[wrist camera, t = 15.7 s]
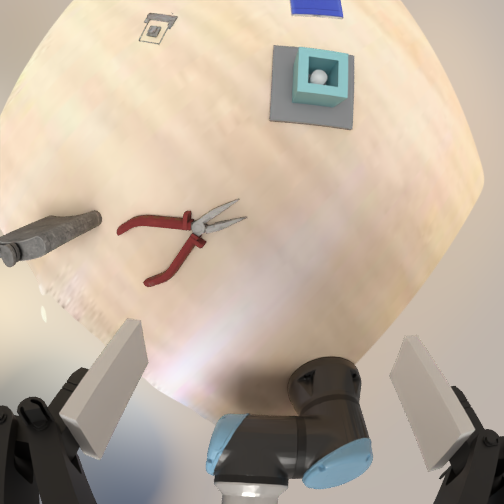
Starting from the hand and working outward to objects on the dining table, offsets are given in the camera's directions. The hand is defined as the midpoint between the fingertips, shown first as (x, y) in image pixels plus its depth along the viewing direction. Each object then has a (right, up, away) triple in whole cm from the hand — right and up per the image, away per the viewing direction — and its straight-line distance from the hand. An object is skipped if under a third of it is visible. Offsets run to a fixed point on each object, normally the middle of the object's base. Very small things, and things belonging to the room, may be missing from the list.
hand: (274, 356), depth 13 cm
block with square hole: (+8, +29, +23) cm, 37 cm away
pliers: (-12, +6, +34) cm, 37 cm away
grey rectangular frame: (-18, +45, +21) cm, 53 cm away
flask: (-34, +10, +33) cm, 49 cm away
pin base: (+8, +29, +24) cm, 39 cm away
